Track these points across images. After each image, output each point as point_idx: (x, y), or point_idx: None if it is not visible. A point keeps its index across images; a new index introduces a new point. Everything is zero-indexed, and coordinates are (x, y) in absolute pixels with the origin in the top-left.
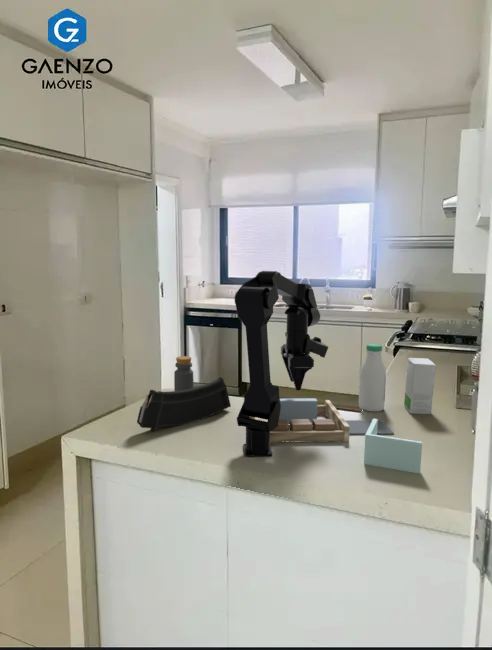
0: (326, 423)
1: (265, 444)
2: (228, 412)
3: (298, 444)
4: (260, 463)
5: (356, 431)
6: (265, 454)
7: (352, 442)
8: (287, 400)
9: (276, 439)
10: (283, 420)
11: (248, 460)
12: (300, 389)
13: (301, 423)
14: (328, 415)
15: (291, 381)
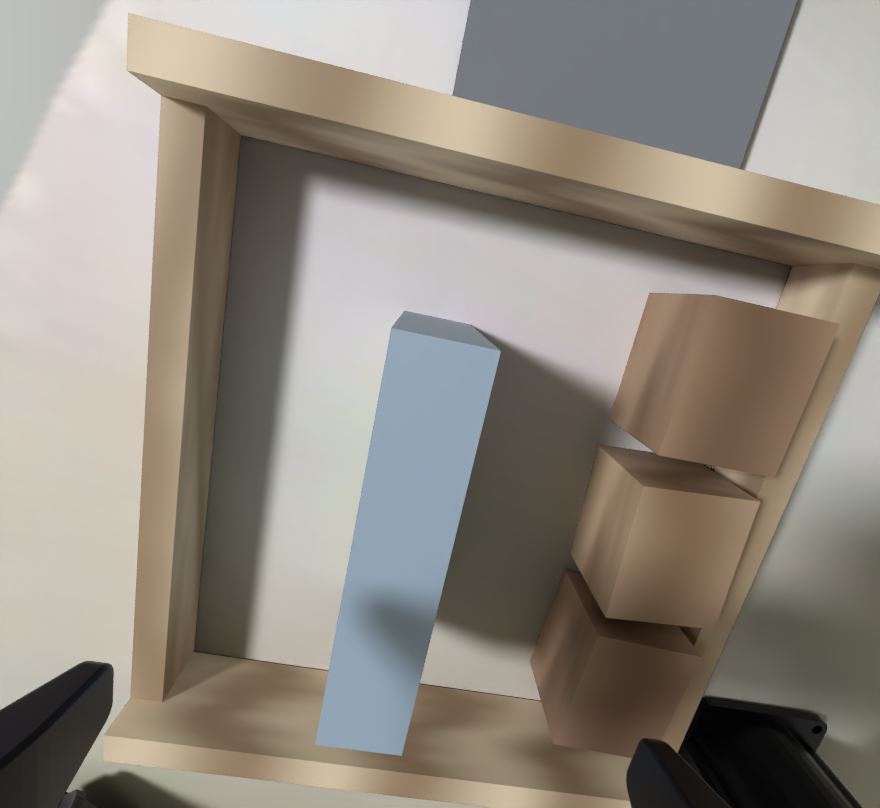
0: (793, 387)
1: (856, 801)
2: (129, 774)
3: None
4: (857, 767)
5: (728, 82)
6: (816, 748)
7: None
8: (404, 647)
9: None
10: (608, 660)
11: None
12: (670, 747)
13: (713, 567)
14: (344, 153)
15: (110, 705)
